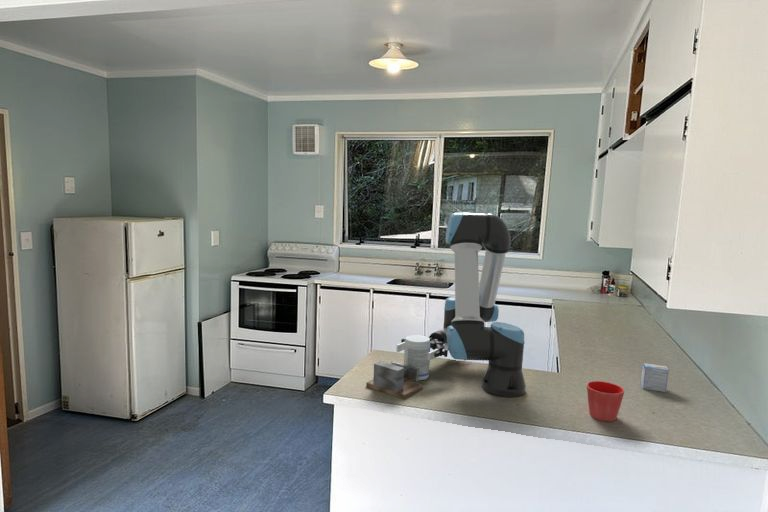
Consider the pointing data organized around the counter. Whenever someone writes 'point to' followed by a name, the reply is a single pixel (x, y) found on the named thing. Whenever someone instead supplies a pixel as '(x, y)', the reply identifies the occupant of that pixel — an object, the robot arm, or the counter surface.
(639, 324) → the counter surface
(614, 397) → the flower pot
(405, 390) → the gauge bench
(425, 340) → the supplement tub
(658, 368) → the medicine box
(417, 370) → the gauge plunger
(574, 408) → the counter surface
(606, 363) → the counter surface
